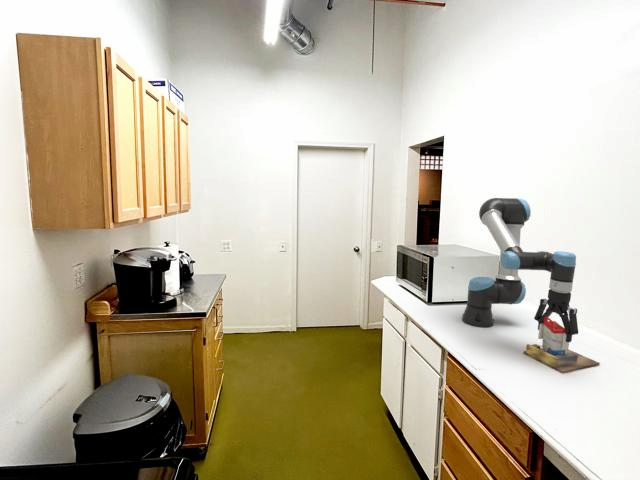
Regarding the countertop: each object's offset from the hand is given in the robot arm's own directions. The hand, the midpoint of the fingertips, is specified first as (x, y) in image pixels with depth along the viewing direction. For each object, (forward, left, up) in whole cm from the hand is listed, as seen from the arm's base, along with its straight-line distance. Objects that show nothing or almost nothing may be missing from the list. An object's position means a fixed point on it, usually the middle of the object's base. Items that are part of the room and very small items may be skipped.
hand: (552, 343), depth 145 cm
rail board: (+1, +4, -7) cm, 8 cm away
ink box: (0, +1, -4) cm, 4 cm away
